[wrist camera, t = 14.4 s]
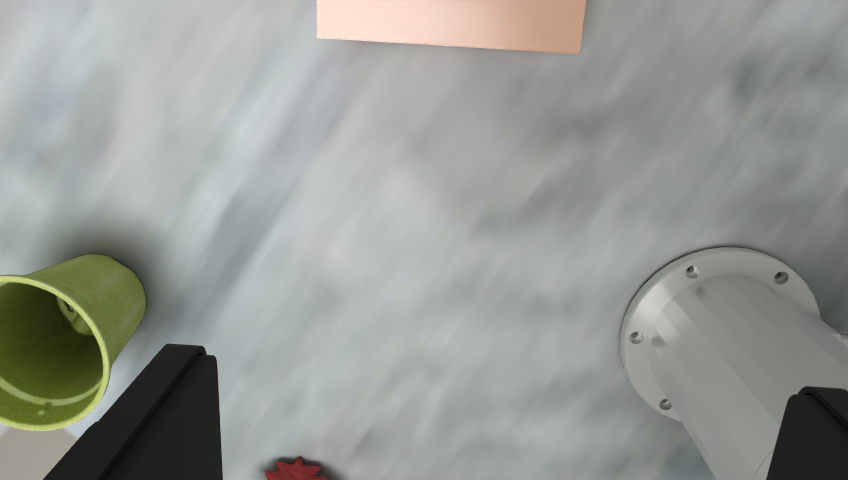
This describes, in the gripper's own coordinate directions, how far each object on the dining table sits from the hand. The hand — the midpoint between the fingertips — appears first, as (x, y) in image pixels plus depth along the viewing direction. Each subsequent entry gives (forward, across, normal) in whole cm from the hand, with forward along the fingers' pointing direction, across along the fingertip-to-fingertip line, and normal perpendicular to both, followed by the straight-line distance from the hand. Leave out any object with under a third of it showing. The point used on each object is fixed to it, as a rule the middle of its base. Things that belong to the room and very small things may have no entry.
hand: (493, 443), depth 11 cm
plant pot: (+31, +23, +12) cm, 40 cm away
